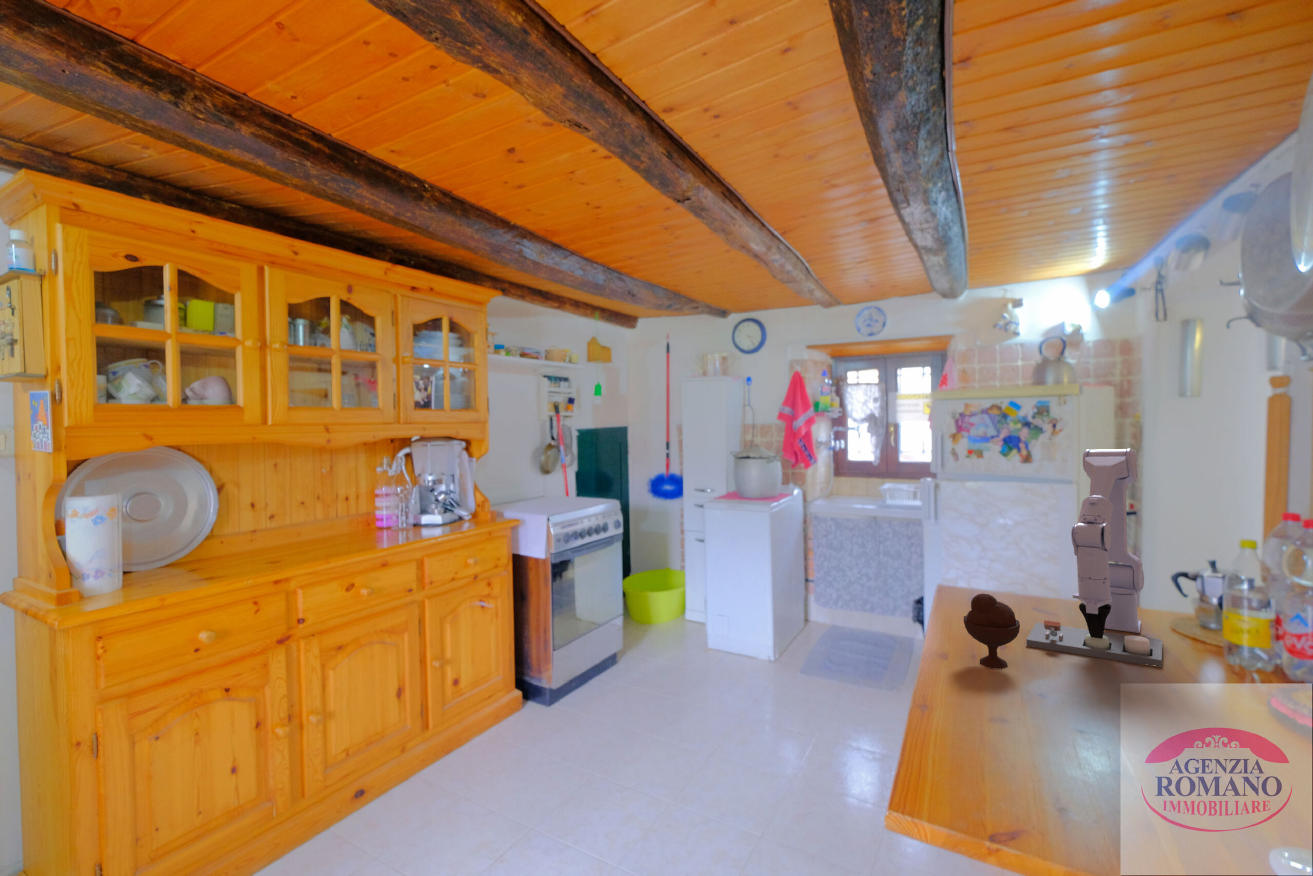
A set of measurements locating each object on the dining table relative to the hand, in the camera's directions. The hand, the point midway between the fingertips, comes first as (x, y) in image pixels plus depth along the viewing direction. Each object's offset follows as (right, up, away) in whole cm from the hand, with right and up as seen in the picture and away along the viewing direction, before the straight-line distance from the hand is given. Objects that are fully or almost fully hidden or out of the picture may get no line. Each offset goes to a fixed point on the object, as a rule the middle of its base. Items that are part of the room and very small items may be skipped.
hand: (1096, 637), depth 132 cm
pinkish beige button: (+5, -2, -5) cm, 7 cm away
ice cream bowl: (-25, -5, -3) cm, 26 cm away
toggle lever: (-6, -1, +5) cm, 8 cm away
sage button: (0, -3, 0) cm, 3 cm away
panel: (+1, -3, +3) cm, 4 cm away
